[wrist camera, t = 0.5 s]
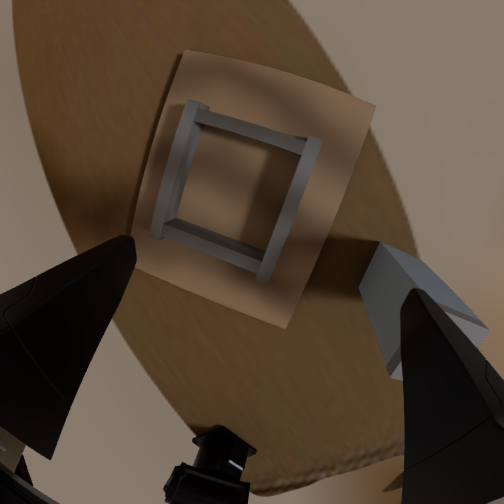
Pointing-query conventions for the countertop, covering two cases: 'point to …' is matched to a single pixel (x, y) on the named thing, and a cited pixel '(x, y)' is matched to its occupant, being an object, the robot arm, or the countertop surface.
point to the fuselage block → (394, 293)
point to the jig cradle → (245, 182)
